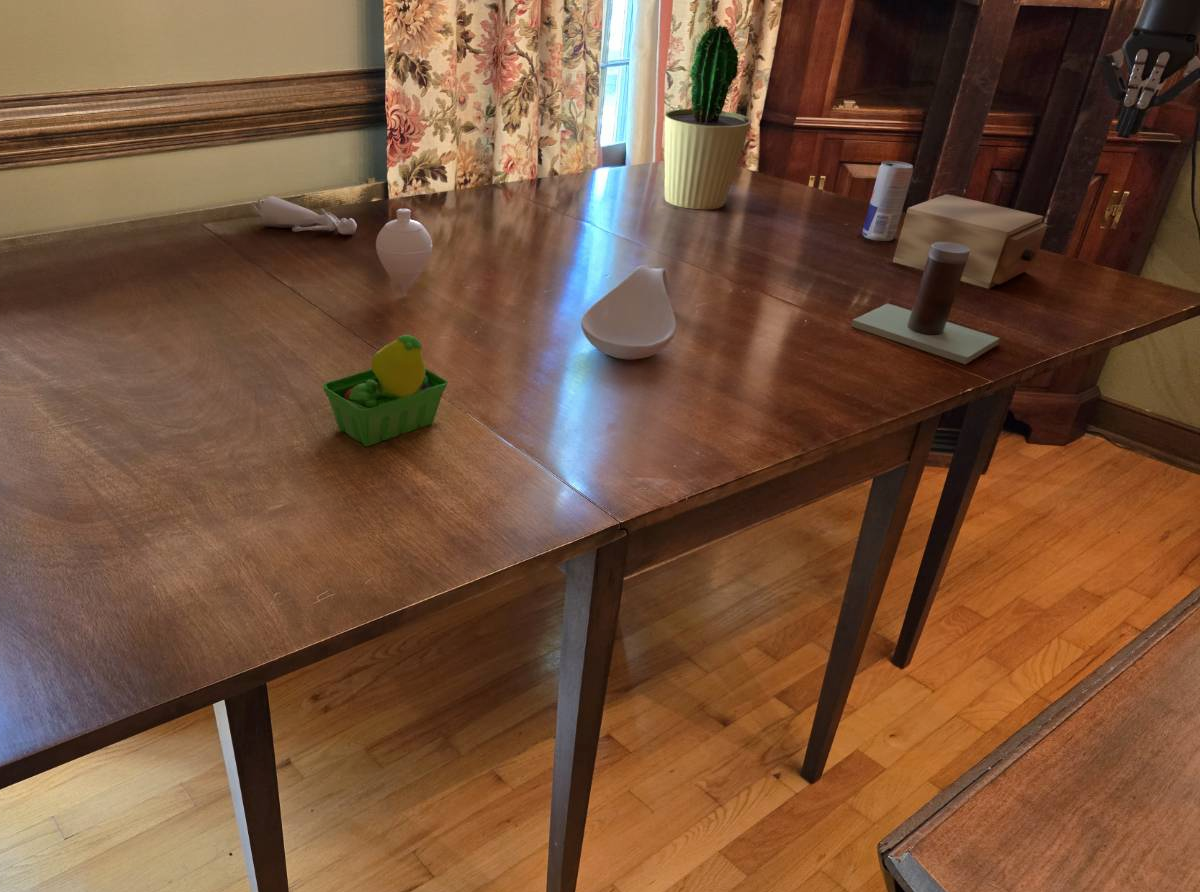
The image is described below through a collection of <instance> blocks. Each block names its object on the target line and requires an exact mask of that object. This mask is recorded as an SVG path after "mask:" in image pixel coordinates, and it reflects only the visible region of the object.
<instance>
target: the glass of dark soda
mask: <svg viewBox="0 0 1200 892" xmlns="http://www.w3.org/2000/svg"><path fill="white" fill-rule="evenodd" d="M969 253H970V249H969V248H968V247H966V246H964V245H961V244H957V243H951V242H935V243H933V244H932V246H931V249H930V252H929V256H928V259H927V262H926V265H925V269H924V271H923V272H922V275H921V279H920V282H919V285H918V289H917V291H916V295H915V298H914V301H913V305H912V308H911V315H910V318H909V321H908V324H907V326H908V328H909V329H910V330H912V331H914V332H917V333H920V334H925V335H939V334H942V333H943V332H944V329H945V326H946V323H947V322H948V319H949V316H950V313H951V310H952V307H953V304H954V302H955V298H956V295H957V292H958V289H959V286H960V284H961V281H960V280H961V277H962V274H963V271H964V268H965V265H966V261H967V259H968V256H969Z"/></svg>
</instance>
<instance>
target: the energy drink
mask: <svg viewBox="0 0 1200 892" xmlns="http://www.w3.org/2000/svg"><path fill="white" fill-rule="evenodd" d="M913 167H914V165H913V164H911V163H908V162H904V161H899V160H898V161H897V160H885V161H882V162H881V164H880V166H879V168H878V170H877V171H878V172H877V175H876V178H875V183H874V187H873V190H872V194H871V198H870V201H869V205H868V209H867V214H866V217H865V220H864V224H863V228H862V236H863V237H864V238H866V239H868V240H872V241H876V242H891V241H893V240H894V239H895V238H896V234H897V231H898V226H899V223H900V220H901V216H902V212H903V208H904V205H905V203H906V202H905V201H906V198H907V195H908V191H909V188H910V184H911V181H912V177H913V173H914V170H913V169H914V168H913Z"/></svg>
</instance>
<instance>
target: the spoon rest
mask: <svg viewBox="0 0 1200 892" xmlns="http://www.w3.org/2000/svg"><path fill="white" fill-rule="evenodd" d="M669 289H670V288H669V281H668V275H667V270H666V269H665V268H664V267H661V268H660V267H659V268H652V267H648V266H646V265H644V264H641V265H638V266H637V267H636V268H634V270H633V271H632V272H631V273H630V274H629V275H628V276H627V277H626V278H625V279H624V280H623V281H621V282H620V283H619V284H618V285H617V286H615V287H614V288H613V289H612V290H610V291H609V292H607V293H606V294H605V295H603V296H602V297H601V298H600V299H599V300H597V301H596V302H595V303H594V304H593V305H591V307H590V308H588V309H587V310H586V311H585V312H584V314H583V315H582V317H581V319H580V328H581V330H582V333H583V335H584V337H585V338H586V339H587V341H588V342H589V343H590V344H591V345H592V346H593V347H594V348H595V349H597V350H598V351H599V352H601V353H602V354H605V355H607V356H609V357H612V358H615V359H620V360H627V361H628V360H629V361H632V360H640V359H646V358H649V357H652V356H654V355H656V354H658V353H659V352H661V351H662V350H664V348H666V347H667V346H668V345H669V344H670V342H671V341H672V339H673V338H674V336H675V334H676V332H677V320H676V316H675V312H674V310H673V307H672V304H671V301H670V299H669V297H670V296H669V292H670V290H669Z"/></svg>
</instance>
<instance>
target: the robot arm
mask: <svg viewBox="0 0 1200 892" xmlns="http://www.w3.org/2000/svg"><path fill="white" fill-rule="evenodd" d="M1199 42H1200V0H1143V3H1142V5H1141V7H1140V11H1139V13H1138V15H1137V18H1136V22H1135V24H1134V27H1133V29H1132V31H1131V34H1130V35H1129V37H1128V38H1127V39H1126V40H1125V41H1124V42H1123V44H1122V47H1121V48H1119V49H1117V50H1115V51H1113V52H1111V53H1110V54H1105V55H1102V56H1101V57H1100V58H1099V65H1100V67H1101V70H1102V74H1103V76H1104V79H1105V81H1106V82H1105V83H1106V84H1107V87H1108V90H1109V93H1110V96H1111V98H1112V99H1113V100H1116V101H1118V102H1120V103H1121V105H1122V109H1121V111H1120V115H1119V116H1118V119H1117V122H1116V124H1115V127H1114V128H1115V129H1114V131H1115V132H1116V133H1117V138H1122V139H1128V140H1130V139H1133V138H1134V136H1136V135H1138V134H1140V133H1141V131H1142V129H1143V127H1144V125H1145V122H1146V120H1147V118H1148V115H1149V112H1150V111H1151V109H1153V108H1155V107H1162V106H1165V105H1168V104H1169V103H1171V102H1172V101H1173V100H1175V99H1176V98H1178V97H1179V96H1180V95H1181V94H1183V93H1184V92H1186V91H1187V90H1188V89H1190V88H1191V87H1192V86H1194V85H1196V84H1197V83H1199V82H1200V58H1199V57H1198V55H1199V52H1200V45H1199ZM1124 60H1125V64H1126V67H1127V70H1128V73H1129V74H1130V78H1129V81H1128V84H1126V81H1125V78H1124V74H1123V72H1122V70H1121V68H1122V66H1123V65H1124ZM1184 67H1186V69H1184V70H1183V72H1182V77H1183V78H1182V79H1180V80H1179V81H1178V82H1176V83H1175V84H1174V85H1172V86H1171V87H1169V88H1168V89H1167V90H1165V91H1164V92H1162V94H1160V91H1161V90H1162V88H1163V87H1164V85H1165V83H1166V82H1167V80H1168V79H1170V78H1172V77H1174V75H1176V74H1177V73H1178V72H1179V71H1180V70H1182V69H1183V68H1184ZM1159 94H1160V95H1159Z"/></svg>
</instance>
